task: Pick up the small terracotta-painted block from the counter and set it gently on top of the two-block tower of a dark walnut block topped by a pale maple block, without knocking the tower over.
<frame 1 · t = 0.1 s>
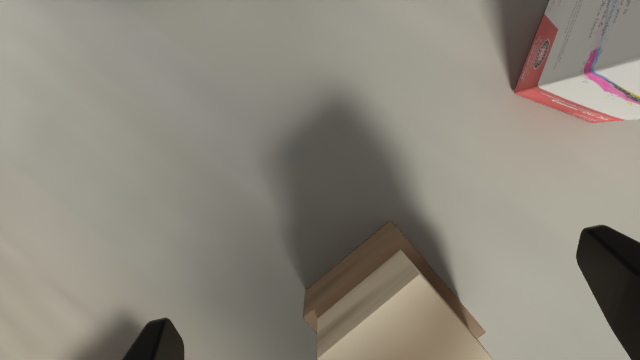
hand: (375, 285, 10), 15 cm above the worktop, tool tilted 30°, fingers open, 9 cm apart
tower middle: (393, 324, 21), point 4 cm above the worktop, touching tower base
ink cartridge box: (581, 33, 24), on the worktop
tower base: (382, 296, 25), on the worktop, touching tower middle
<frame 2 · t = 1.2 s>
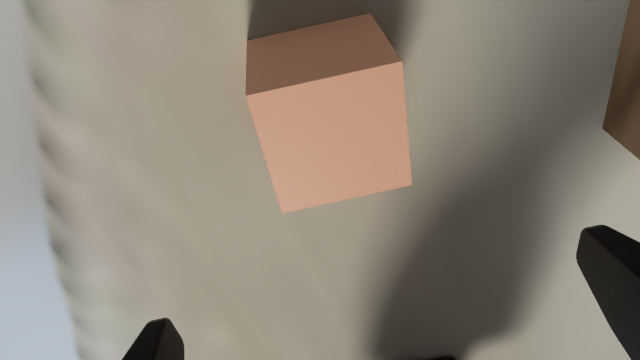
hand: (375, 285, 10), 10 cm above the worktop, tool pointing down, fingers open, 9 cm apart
terracotta block: (319, 82, 18), on the worktop
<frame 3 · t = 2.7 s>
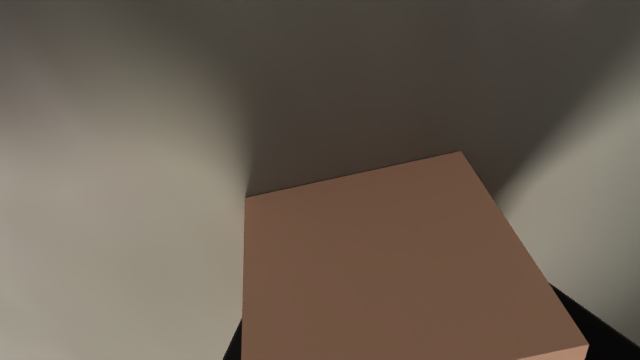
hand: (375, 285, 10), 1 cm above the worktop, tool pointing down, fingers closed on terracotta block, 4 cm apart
terracotta block: (365, 250, 11), on the worktop, touching gripper
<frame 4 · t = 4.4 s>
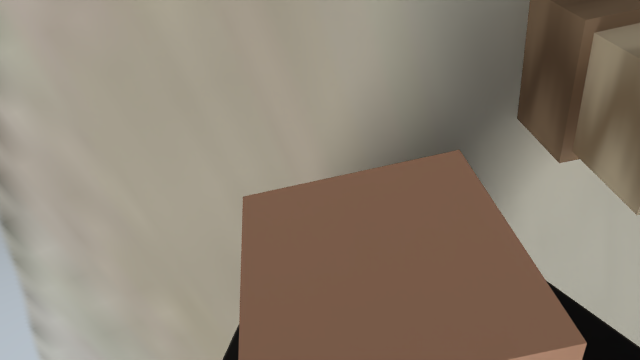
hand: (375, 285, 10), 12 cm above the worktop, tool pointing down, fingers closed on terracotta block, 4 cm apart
terracotta block: (364, 249, 11), point 11 cm above the worktop, touching gripper
tower base: (588, 44, 21), on the worktop, touching tower middle
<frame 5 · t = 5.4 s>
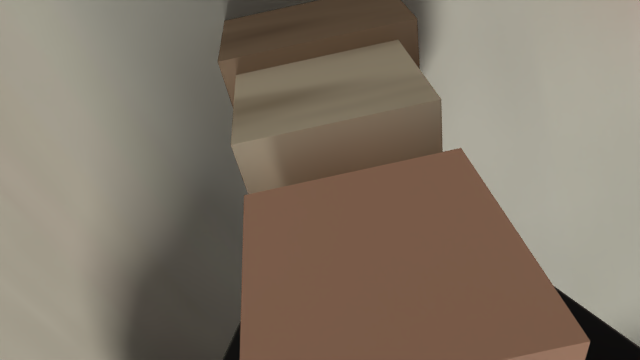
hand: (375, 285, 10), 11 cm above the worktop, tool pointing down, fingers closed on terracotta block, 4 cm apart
tower middle: (330, 127, 15), point 4 cm above the worktop, touching tower base
terracotta block: (365, 248, 11), point 10 cm above the worktop, touching gripper
tower base: (319, 77, 19), on the worktop, touching tower middle
when the fingers open (10 cm above the worktop, at t = 5.8 s): terracotta block drops 1 cm, resting on tower middle.
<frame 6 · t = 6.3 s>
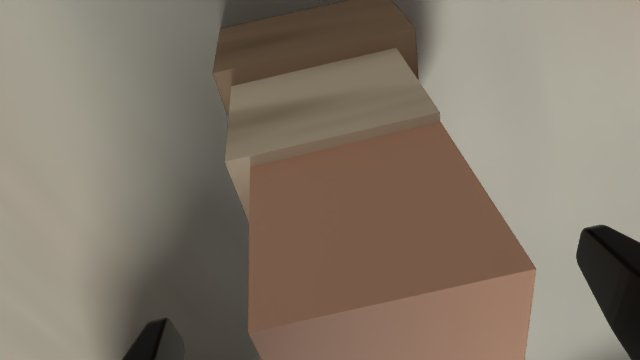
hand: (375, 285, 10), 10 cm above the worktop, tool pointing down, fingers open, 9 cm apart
tower middle: (328, 137, 15), point 4 cm above the worktop, touching terracotta block, tower base
terracotta block: (359, 215, 12), point 8 cm above the worktop, touching tower middle
tower base: (317, 85, 18), on the worktop, touching tower middle
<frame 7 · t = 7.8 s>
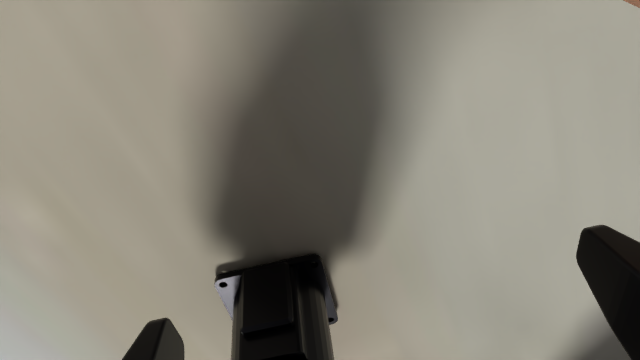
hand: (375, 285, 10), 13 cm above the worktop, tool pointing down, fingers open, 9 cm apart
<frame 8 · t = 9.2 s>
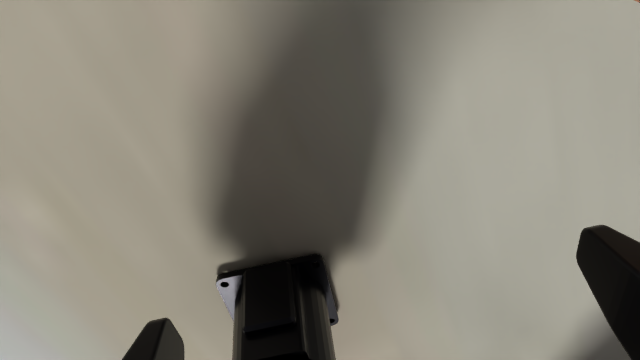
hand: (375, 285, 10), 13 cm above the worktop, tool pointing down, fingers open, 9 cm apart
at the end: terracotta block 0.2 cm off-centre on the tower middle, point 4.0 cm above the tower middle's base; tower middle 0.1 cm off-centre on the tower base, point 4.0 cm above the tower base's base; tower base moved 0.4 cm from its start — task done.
